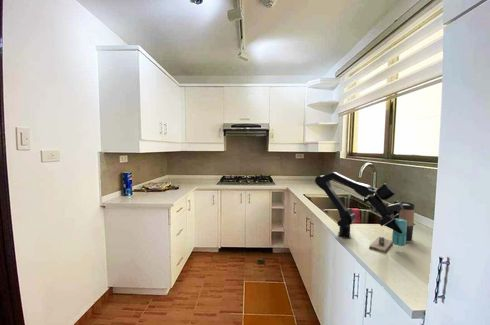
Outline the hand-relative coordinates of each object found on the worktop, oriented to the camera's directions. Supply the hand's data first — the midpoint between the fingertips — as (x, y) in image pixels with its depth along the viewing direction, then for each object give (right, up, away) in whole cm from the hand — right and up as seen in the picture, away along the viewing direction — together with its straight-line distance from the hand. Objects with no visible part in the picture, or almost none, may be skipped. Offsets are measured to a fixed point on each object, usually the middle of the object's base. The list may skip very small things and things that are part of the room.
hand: (402, 231), depth 114 cm
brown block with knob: (-7, -10, +7) cm, 14 cm away
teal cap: (-1, -7, +1) cm, 7 cm away
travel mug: (+12, -9, +16) cm, 22 cm away
